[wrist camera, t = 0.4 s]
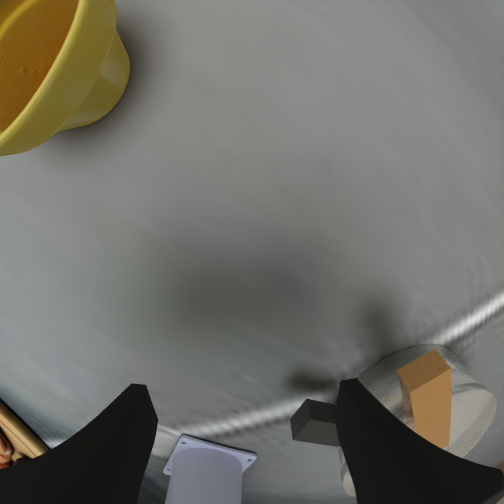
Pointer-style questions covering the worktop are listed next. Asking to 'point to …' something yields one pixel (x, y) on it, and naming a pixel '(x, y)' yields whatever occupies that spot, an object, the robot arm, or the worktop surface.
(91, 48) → the plant pot
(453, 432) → the lid
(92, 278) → the worktop surface
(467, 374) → the cooker pot
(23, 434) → the wooden plate with food
